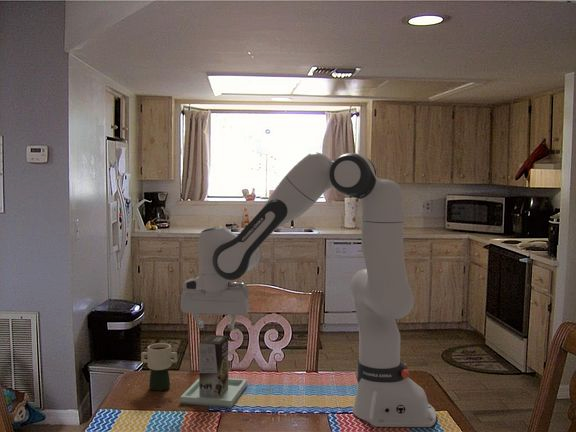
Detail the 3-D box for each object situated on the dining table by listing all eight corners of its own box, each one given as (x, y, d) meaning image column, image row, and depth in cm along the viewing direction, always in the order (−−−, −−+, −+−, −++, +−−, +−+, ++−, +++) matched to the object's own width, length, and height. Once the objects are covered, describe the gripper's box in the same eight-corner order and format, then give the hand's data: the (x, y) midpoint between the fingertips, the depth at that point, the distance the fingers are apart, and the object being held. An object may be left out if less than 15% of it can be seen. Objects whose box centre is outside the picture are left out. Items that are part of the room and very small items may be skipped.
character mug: (179, 383, 181) (179, 342, 180) (175, 392, 174) (175, 350, 173) (144, 383, 181) (143, 342, 180) (138, 392, 174) (138, 350, 173)
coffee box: (219, 399, 168) (219, 344, 167) (198, 397, 169) (198, 342, 168) (229, 387, 177) (229, 335, 176) (209, 385, 178) (208, 333, 177)
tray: (247, 385, 180) (247, 379, 180) (231, 407, 163) (231, 401, 163) (201, 382, 183) (201, 375, 183) (180, 403, 166) (180, 396, 166)
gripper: (251, 280, 171) (252, 327, 172) (185, 279, 175) (187, 324, 177) (245, 285, 165) (246, 333, 166) (177, 283, 169) (179, 330, 170)
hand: (215, 328), depth 172 cm, fingers open, 8 cm apart
